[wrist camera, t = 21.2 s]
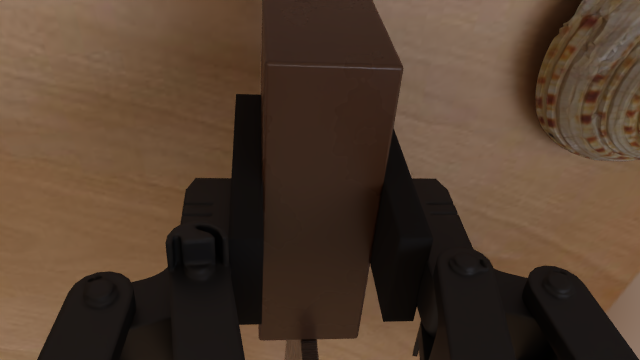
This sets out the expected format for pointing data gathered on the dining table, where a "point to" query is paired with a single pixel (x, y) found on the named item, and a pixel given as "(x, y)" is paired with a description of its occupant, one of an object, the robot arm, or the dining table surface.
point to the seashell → (594, 82)
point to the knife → (322, 164)
